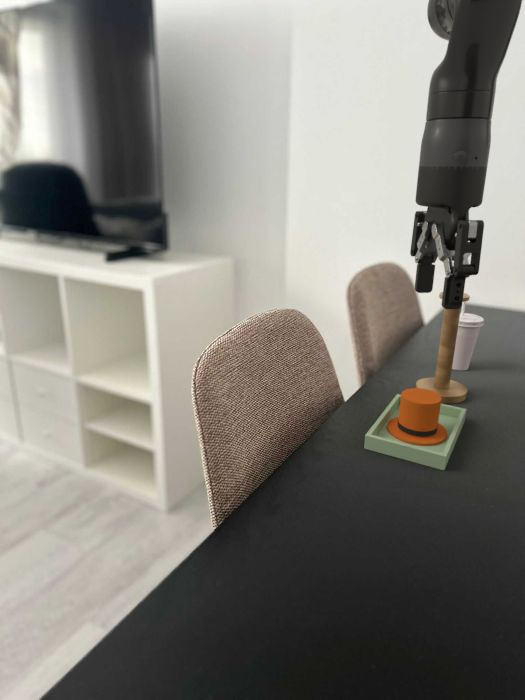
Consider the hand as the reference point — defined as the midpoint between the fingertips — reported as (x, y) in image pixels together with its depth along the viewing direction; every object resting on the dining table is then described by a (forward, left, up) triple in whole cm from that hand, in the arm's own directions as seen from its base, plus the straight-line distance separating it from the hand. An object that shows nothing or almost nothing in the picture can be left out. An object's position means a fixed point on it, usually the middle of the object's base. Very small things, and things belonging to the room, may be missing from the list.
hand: (436, 299), depth 65 cm
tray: (0, 0, -19) cm, 19 cm away
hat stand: (-9, -13, -19) cm, 25 cm away
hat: (0, 0, -19) cm, 19 cm away
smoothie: (-17, -24, -19) cm, 36 cm away
